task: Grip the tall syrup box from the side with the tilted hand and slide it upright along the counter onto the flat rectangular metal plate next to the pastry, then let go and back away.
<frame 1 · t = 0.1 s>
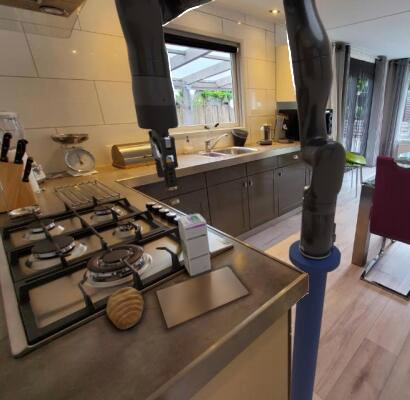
hand: (166, 181, 55), 25 cm above the countertop, tool pointing down, fingers open, 8 cm apart
flat rectangular metal plate: (202, 292, 58), on the countertop
pastry: (128, 312, 53), on the countertop
syrup box: (197, 268, 67), on the countertop
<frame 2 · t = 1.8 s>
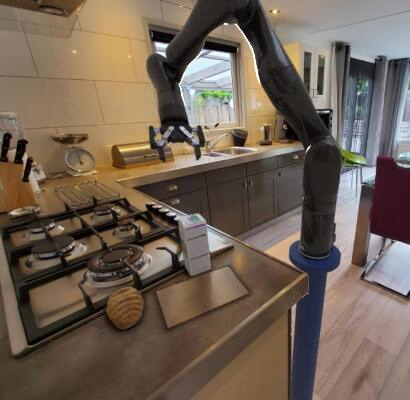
hand: (181, 159, 67), 27 cm above the countertop, tool tilted 45°, fingers open, 8 cm apart
nothing on the countertop moved.
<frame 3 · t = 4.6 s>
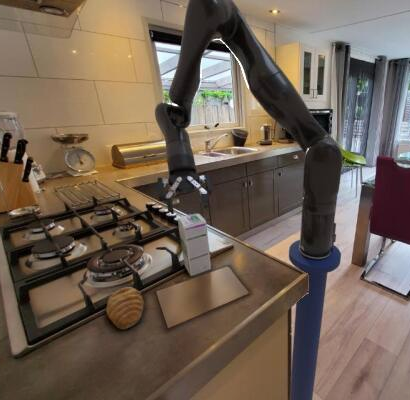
hand: (189, 210, 68), 14 cm above the countertop, tool tilted 45°, fingers open, 8 cm apart
nothing on the countertop moved.
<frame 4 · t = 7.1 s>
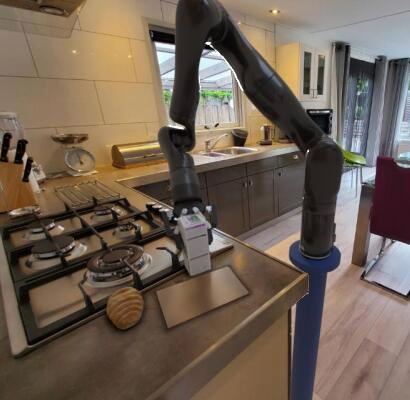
hand: (195, 246, 63), 7 cm above the countertop, tool tilted 45°, fingers closed on syrup box, 6 cm apart
syrup box: (197, 268, 67), on the countertop, touching gripper
everything else where it was.
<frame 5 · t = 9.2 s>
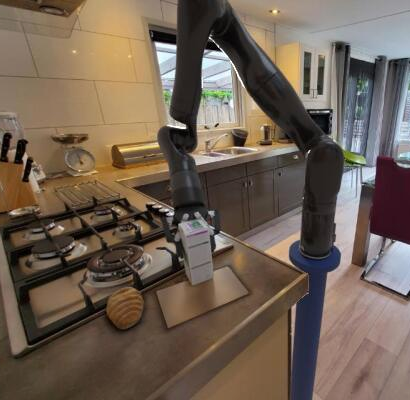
hand: (197, 254, 59), 8 cm above the countertop, tool tilted 45°, fingers closed on syrup box, 6 cm apart
syrup box: (199, 276, 63), on the countertop, touching gripper
everything else where it was.
when the fingers open (8 cm above the countertop, at t = 11.3 s): syrup box stays where it is, resting on flat rectangular metal plate.
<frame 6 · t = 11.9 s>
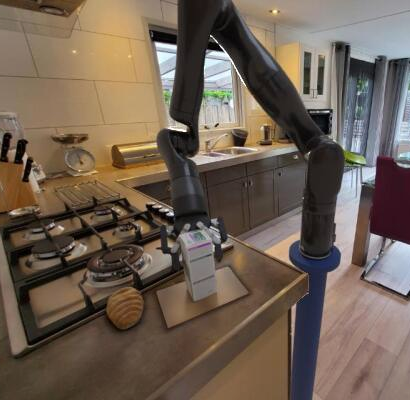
hand: (199, 266, 54), 8 cm above the countertop, tool tilted 45°, fingers open, 8 cm apart
syrup box: (201, 291, 59), resting on flat rectangular metal plate
everything else where it was.
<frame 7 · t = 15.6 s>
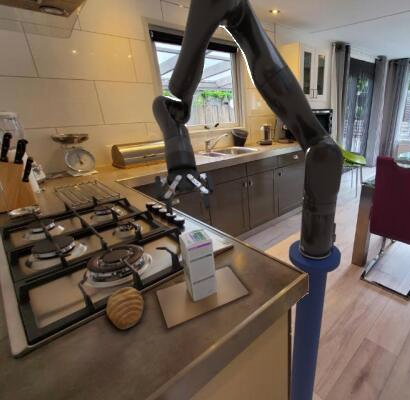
hand: (189, 211, 63), 16 cm above the countertop, tool tilted 45°, fingers open, 8 cm apart
nothing on the countertop moved.
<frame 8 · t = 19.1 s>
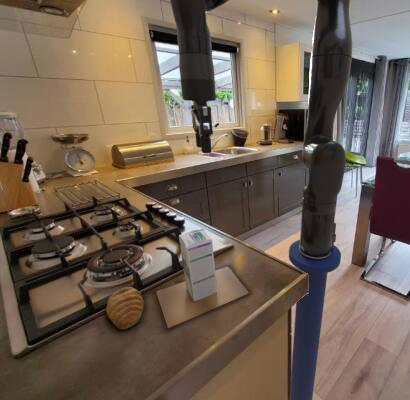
hand: (203, 149, 63), 30 cm above the countertop, tool pointing down, fingers open, 8 cm apart
nothing on the countertop moved.
at the end: syrup box inside the target area (0.7 cm from its centre), resting on flat rectangular metal plate; syrup box tilted 0°; the gripper is holding nothing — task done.
